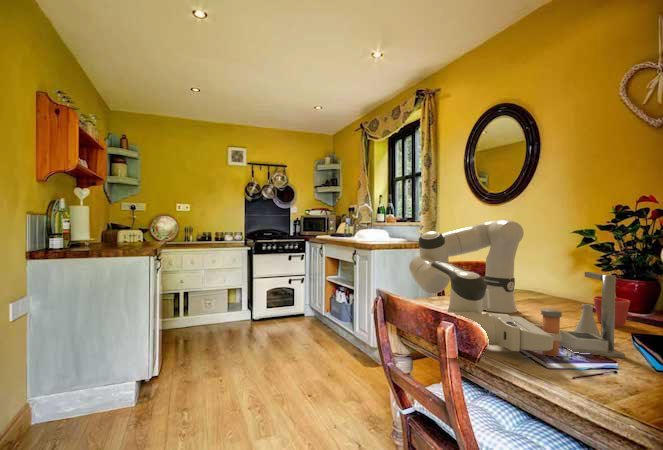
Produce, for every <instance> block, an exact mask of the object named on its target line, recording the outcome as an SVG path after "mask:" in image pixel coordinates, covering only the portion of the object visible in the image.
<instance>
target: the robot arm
mask: <svg viewBox="0 0 663 450" xmlns="http://www.w3.org/2000/svg"><path fill="white" fill-rule="evenodd" d="M524 234H525V233H524V228H523V227H522V225H521V224H520V223H519V222H517V221H515V220H511V219H496V220H490V221H484V222H482V223H479V224H475V225H471V226H468V227H464V228H462V227H461V228H459V229H455V230H454V229H453V230H451V231H446V232H443V233H440V232H439V231H432V230H431V231H427V232H424V233H422V234H421V235H420V236H419V238H418V247H419V256H415V257H414V258H413V259H412V260H411V261H410V262H409V264H408V265H409V266H408V268H409V272H410V275H411V277H412V279H413V281H414V282H415V283H416V284H417V285H418V286H419V288H420V289H421V290H422V291H424V292H426V293H427V294H438V293H440V292H442V291H444V290H445V289H446V288H447V287H448V286H449V285H450V294H449V303H448V309H447V311H446V313H447V312H448V313H452V314H456V315H460V316H463V317H465V318H468V319H471V320H473V321H475V322H477V323H478V324H480V325H481V327H482V328H483V329H484V330H485V331H486V333H487V336H488V339H489V345H488V346H495V347H496V346H497V347H503V348H505V349H507V350H510V351H512V352H520V350H523V351H534V352H536V351H537V352H542V351H549V350H552V349H553V341H561V340H562V335H561V334H560V332H559V333H555V332H552V333H547V332H545V331H543V330H542V327H543V325H540V324H537V323H532V322H530V320H529V321H528V320H527V319H526V318H523V317H521V316H516V315H513V316H511V315H509V313H510V314H511V313H512V314H513V313H517V312H518V309H517V305H516V299H515V290H514V289H515V285H516V279H515V277H514V276H515V274H514V273H515V259H516V256H517V255H516V254H517V252H518V251H517V250H518V247H519V244H520V242H521V241H522V239H523V237H524ZM486 248H489V251H488V254H487V256H486V258H485V275H484V276H481V275H480V274H479V273H477V272H474V271H470V270H467V269H464V268H461V267H459V266H458V265H455V264H454V263H450V261H449V257H455V256H460V255H465V254H471V253H474V252H479V251H481V250H482V249H486ZM449 283H450V284H449ZM483 310H486V311H487V312H486V311H485V312H486V313H483ZM494 312H495V313H494ZM505 313H506V314H505Z"/></svg>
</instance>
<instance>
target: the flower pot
mask: <svg viewBox="0 0 663 450" xmlns="http://www.w3.org/2000/svg"><path fill="white" fill-rule="evenodd" d="M593 303H594V308H595V314H596V318H597V319H596V320H597V322H598V323H599V324H601V313H602V295H601V296H600V295H595V296H593ZM630 306H631V300H629V299H626V298H621V297H615V324H614V327H615V328H616V327H617V328H620V327H621V328H622V327H625V325H626V321H627V318H628V313H629V309H630Z"/></svg>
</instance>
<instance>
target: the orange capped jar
mask: <svg viewBox="0 0 663 450" xmlns="http://www.w3.org/2000/svg"><path fill="white" fill-rule="evenodd" d="M540 312H541V313H540V315H542V326H543V327H542V330H543V331H545V332H547V333H552V332H555V333H559V334H560V330H561V329H560V328H561V327H560V325H561V324H560V322H561V318H562V317H563V316H562V313H563V312H562V311H561V310H556V309H550V308H542V309H541V310H540ZM542 353H543V354H545V355H548V356H547V357H549V356H558V355H559V356H560V345H559V341H553V349H552V350H549V351H541V354H542ZM543 354H542V355H543ZM545 355H544V356H545Z"/></svg>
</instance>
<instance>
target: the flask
mask: <svg viewBox="0 0 663 450" xmlns="http://www.w3.org/2000/svg"><path fill="white" fill-rule="evenodd" d="M581 305H582V311H581V312H582V313H581V316H580V318H579V320H578V322H577V324H576V326H575V329H574V330H573V331H578V332H590V333H592V334H594V335H596V336H598V337H600V338H601V332H600V331H599V329H598V326H597V323H596V321H595V318H594V312H593V308H595V305H593V304H588V303H582V304H581Z"/></svg>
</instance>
